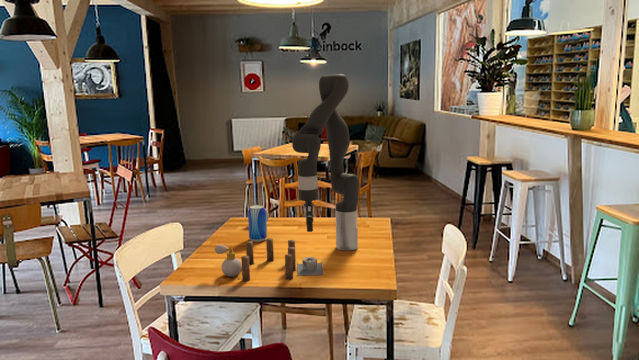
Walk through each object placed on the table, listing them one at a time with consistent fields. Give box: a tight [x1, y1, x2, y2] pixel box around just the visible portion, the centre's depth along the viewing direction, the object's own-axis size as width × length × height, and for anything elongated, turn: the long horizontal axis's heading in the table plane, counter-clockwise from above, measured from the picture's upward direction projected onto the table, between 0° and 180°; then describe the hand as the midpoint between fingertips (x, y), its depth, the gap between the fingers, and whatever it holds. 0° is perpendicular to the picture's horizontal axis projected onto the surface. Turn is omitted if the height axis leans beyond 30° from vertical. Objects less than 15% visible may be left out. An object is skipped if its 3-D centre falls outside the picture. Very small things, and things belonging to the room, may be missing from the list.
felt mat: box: [296, 262, 325, 277], centre depth 184 cm, size 10×12×1 cm
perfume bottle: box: [214, 244, 242, 278], centre depth 178 cm, size 8×10×12 cm
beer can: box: [247, 204, 268, 243], centre depth 220 cm, size 8×8×16 cm
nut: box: [301, 256, 318, 272], centre depth 183 cm, size 6×5×4 cm
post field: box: [240, 237, 297, 282], centre depth 184 cm, size 20×23×9 cm
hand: (309, 228), depth 181 cm, fingers open, 8 cm apart
